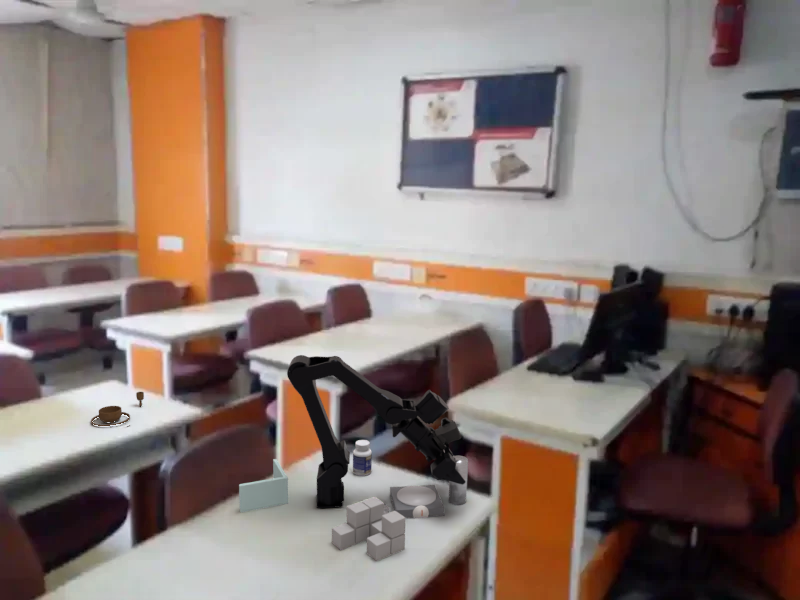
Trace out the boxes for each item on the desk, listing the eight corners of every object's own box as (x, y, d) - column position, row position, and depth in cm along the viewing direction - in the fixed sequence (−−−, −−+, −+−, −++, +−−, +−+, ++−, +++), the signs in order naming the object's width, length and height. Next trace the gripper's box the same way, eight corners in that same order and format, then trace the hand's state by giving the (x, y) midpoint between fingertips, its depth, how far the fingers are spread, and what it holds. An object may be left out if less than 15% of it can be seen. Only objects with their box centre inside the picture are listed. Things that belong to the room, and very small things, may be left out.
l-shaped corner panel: (276, 484, 176) (276, 458, 174) (288, 505, 165) (287, 477, 164) (231, 492, 171) (231, 466, 170) (240, 514, 160) (239, 486, 159)
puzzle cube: (331, 543, 148) (331, 511, 147) (374, 526, 155) (374, 495, 154) (361, 568, 139) (361, 534, 137) (405, 549, 146) (405, 517, 145)
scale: (396, 522, 159) (396, 507, 158) (389, 498, 171) (390, 483, 170) (444, 519, 160) (445, 505, 160) (434, 495, 172) (434, 481, 172)
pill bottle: (368, 477, 180) (369, 447, 178) (350, 475, 181) (350, 445, 179) (373, 469, 185) (373, 439, 183) (355, 467, 186) (355, 438, 184)
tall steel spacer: (450, 505, 166) (452, 463, 163) (446, 496, 170) (448, 455, 168) (468, 504, 166) (470, 462, 164) (463, 495, 171) (465, 455, 169)
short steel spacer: (372, 525, 156) (372, 513, 155) (370, 515, 160) (370, 504, 159) (390, 524, 156) (390, 512, 156) (387, 514, 161) (388, 503, 160)
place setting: (83, 419, 219) (82, 403, 217) (142, 406, 232) (141, 390, 231) (101, 435, 206) (99, 417, 205) (162, 420, 219) (161, 403, 218)
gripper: (447, 427, 154) (491, 470, 157) (438, 400, 172) (477, 439, 175) (414, 459, 155) (458, 500, 158) (408, 428, 173) (447, 466, 176)
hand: (461, 474), depth 167 cm, fingers open, 9 cm apart
